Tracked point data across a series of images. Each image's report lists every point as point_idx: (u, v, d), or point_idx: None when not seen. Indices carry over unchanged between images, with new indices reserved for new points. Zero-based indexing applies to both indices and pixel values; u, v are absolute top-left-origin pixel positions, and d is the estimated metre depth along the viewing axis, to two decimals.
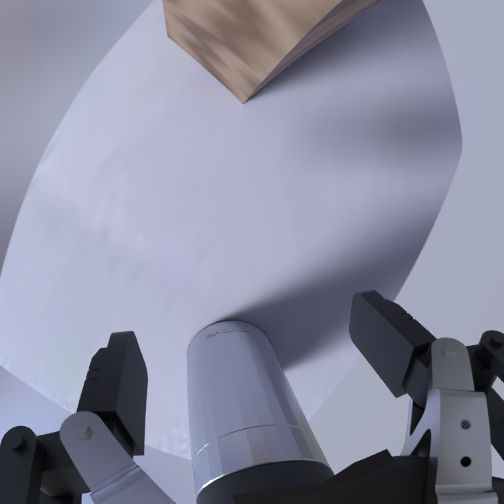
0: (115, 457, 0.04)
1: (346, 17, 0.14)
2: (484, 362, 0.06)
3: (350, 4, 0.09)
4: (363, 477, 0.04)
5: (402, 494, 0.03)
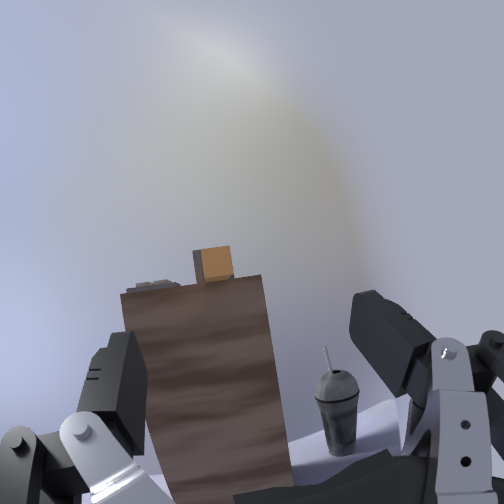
0: (115, 457, 0.04)
1: (217, 460, 0.29)
2: (484, 362, 0.06)
3: (168, 424, 0.29)
4: (363, 477, 0.04)
5: (402, 494, 0.03)
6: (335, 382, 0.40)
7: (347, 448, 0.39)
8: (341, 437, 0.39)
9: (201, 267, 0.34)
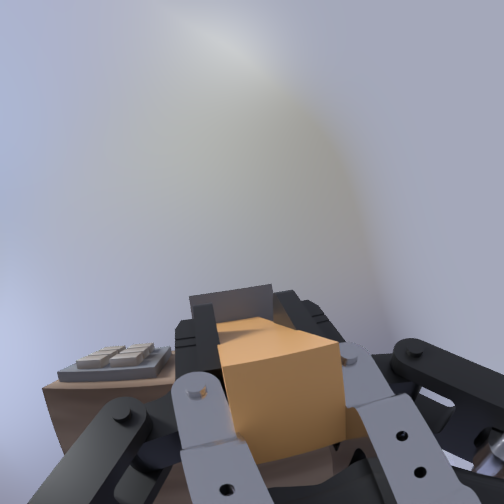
0: None
1: None
2: (397, 374, 0.07)
3: None
4: (364, 477, 0.04)
5: None
6: None
7: None
8: None
9: None
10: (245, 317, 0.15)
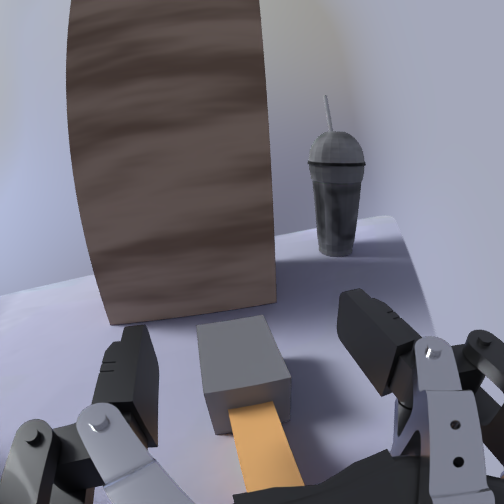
0: (134, 446, 0.05)
1: (163, 207, 0.23)
2: (470, 362, 0.06)
3: (99, 142, 0.20)
4: (363, 477, 0.04)
5: (395, 498, 0.03)
6: (337, 139, 0.31)
7: (344, 245, 0.36)
8: (339, 224, 0.35)
9: (225, 415, 0.14)
10: (260, 403, 0.14)
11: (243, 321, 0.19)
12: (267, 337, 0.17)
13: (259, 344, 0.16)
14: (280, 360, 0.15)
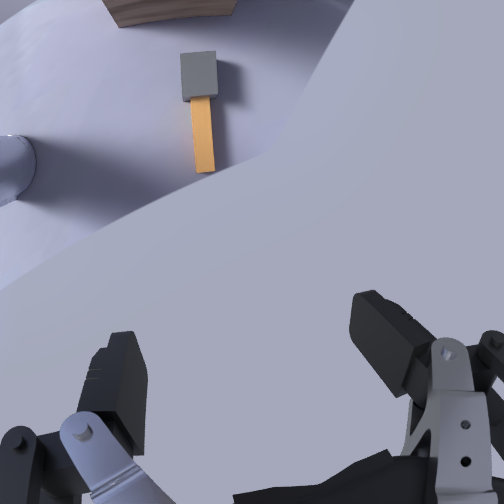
0: (115, 457, 0.04)
1: None
2: (484, 362, 0.06)
3: None
4: (363, 477, 0.04)
5: (402, 494, 0.03)
6: None
7: None
8: None
9: (188, 99, 0.34)
10: (204, 96, 0.34)
11: (204, 54, 0.30)
12: (214, 68, 0.31)
13: (209, 72, 0.31)
14: (216, 83, 0.32)
